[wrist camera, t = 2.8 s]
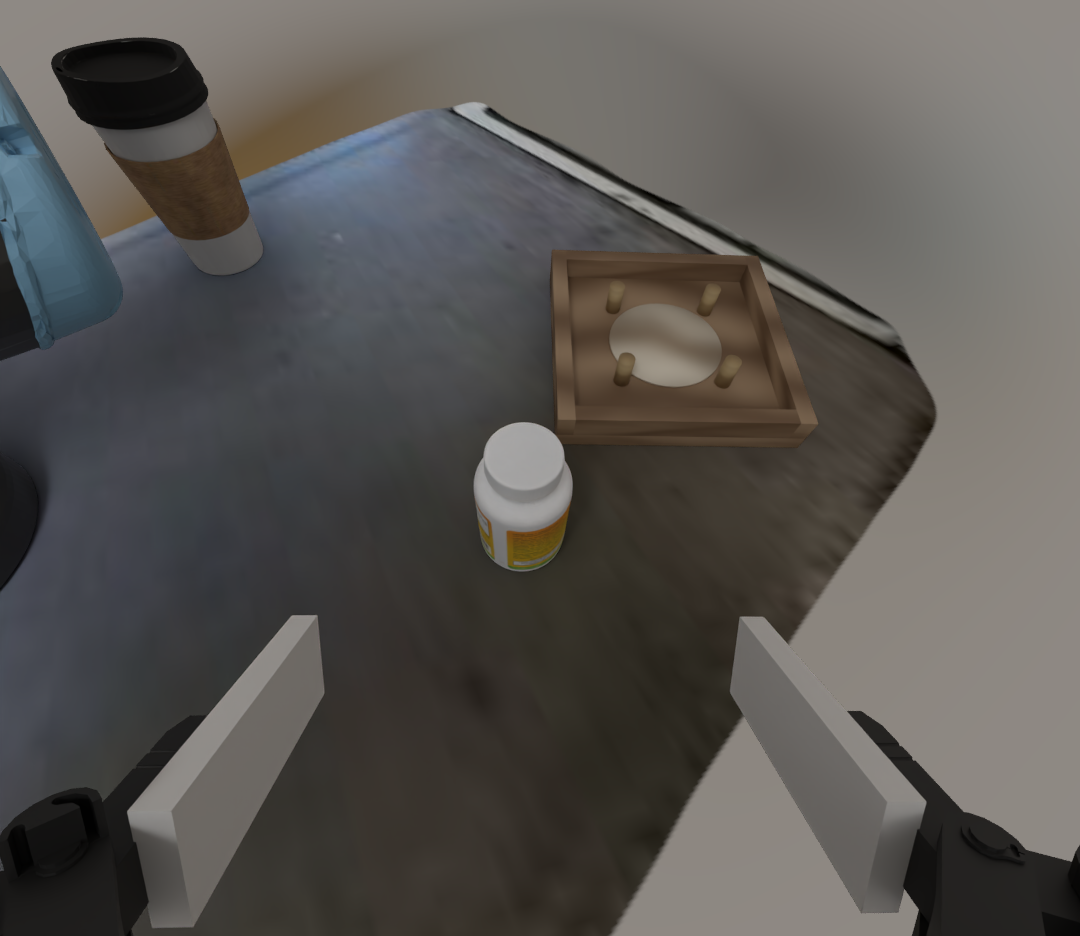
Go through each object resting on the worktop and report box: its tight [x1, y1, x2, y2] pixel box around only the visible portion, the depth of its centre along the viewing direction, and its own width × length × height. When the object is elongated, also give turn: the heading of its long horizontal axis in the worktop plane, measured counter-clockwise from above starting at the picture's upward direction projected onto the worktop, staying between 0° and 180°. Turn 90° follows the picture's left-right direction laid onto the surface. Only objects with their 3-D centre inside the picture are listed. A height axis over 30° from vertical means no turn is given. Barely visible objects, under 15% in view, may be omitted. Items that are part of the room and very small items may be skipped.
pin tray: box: [550, 250, 818, 448], centre depth 40 cm, size 18×18×4 cm
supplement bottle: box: [474, 422, 573, 571], centre depth 29 cm, size 5×5×10 cm
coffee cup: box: [51, 38, 263, 275], centre depth 39 cm, size 8×8×15 cm
